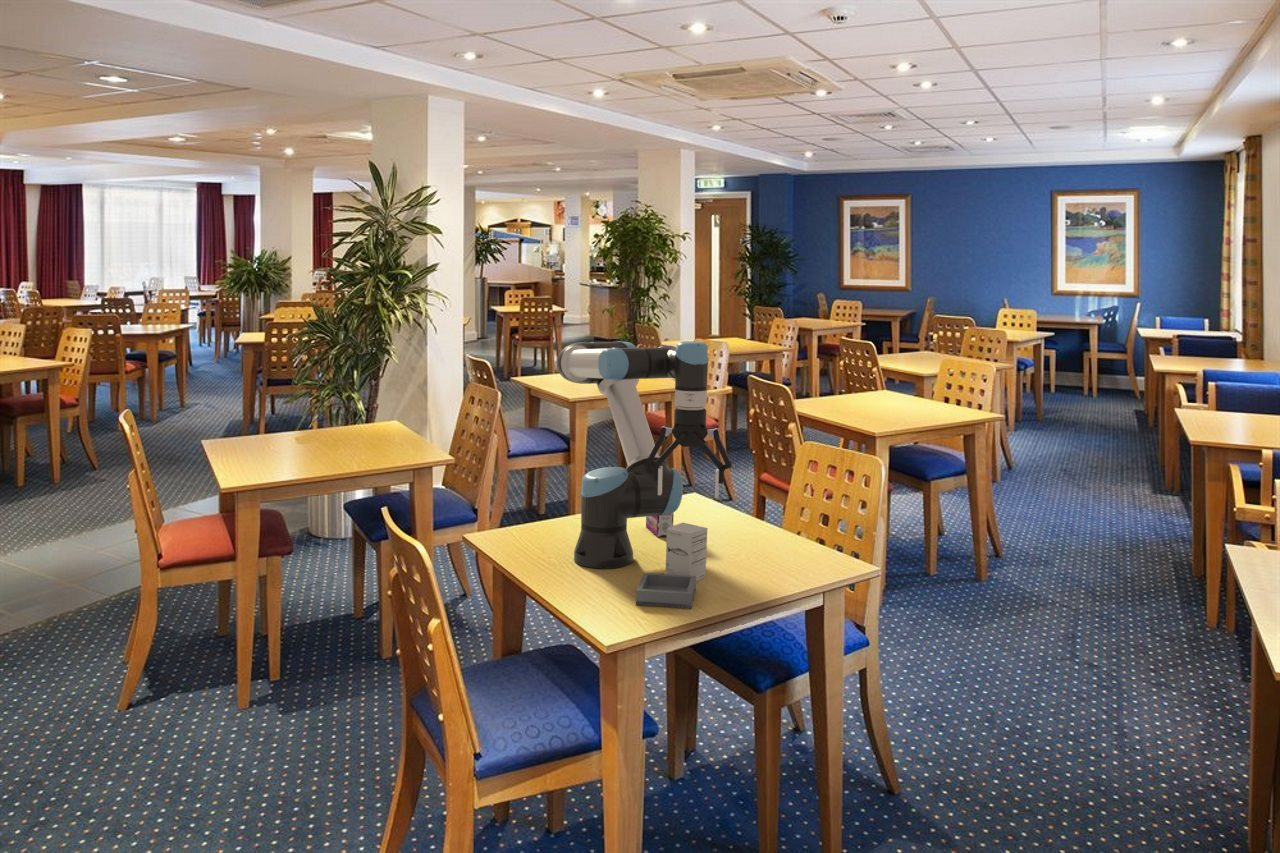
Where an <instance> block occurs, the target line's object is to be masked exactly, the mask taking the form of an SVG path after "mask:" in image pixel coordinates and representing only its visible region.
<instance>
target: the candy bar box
mask: <svg viewBox="0 0 1280 853" xmlns="http://www.w3.org/2000/svg"><path fill="white" fill-rule="evenodd" d="M674 513H675V512H673V513H671V514H664V515H662V516H659V515H657V516H646V517H645V527H646V529H648V530H649V532H651V533H652V534H654V536H655V537H657V538H664V537H666V538H667V528H669V527H672V526H674V517H675V516H674Z"/></svg>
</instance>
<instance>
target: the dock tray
mask: <svg viewBox="0 0 1280 853" xmlns="http://www.w3.org/2000/svg"><path fill="white" fill-rule="evenodd" d="M696 591H697V581H696V576H688V575H672V574H665V573H656V572H655V573H654V572H653V573H652V572H651V573H650V572H643V573H642V575H641V578H640V580H639V583H638V585H637V587H636V589H635V606H639V607H653V608H654V607H656V608H668V609H669V608H670V609H683V610H684V609H687V610H692V608H693V603H694V601H695V595H696Z"/></svg>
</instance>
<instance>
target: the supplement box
mask: <svg viewBox="0 0 1280 853" xmlns="http://www.w3.org/2000/svg"><path fill="white" fill-rule="evenodd" d="M707 542H708V527H704V526H699V525H696V524H695V525H694V524H691V523H687V522H681V523H678V524H673V526H672V527H669V528H667V537H666V543H665V544H666V548H665V549H666V550H665V572H664V574H672V575H688V576H696V582H697V581H699V580H701V579H704V578H706V572H707V570H706V569H707Z"/></svg>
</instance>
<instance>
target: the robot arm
mask: <svg viewBox="0 0 1280 853" xmlns="http://www.w3.org/2000/svg"><path fill="white" fill-rule="evenodd" d="M708 348H709V347H708V344H707V343H706V342H703V341H696V340H695V341H694V340H693V341H692V340H690V341H688V340H686V341H683V340H682V341H678V342H677V343H676V346H673V345H661V346H659V347H658V346H654V347H653V346H651V347H636V345H634V343H632V342H629V341H621V340H613V341H581V342H575V343H571V344H569V345H566V346H565V347H564V348H562V349H561V350H560V352H559V354H558V355H557V359H556V368H557V371H558V374H560V376H561V377H562V378H563V379H564V380H567V381H568V382H571V383H574V384H581V385H582V384H583V385H584V384H585V385H588V384H593V385H595V384H596V386H597V388H598V391H599V393H600V395H603V396H605V397H606V398H607V402H608V406H609V409H610V412H611V415H612V418H613V422H614V425H615V428H616V432H617V434H618V438H619V441H620V444H621V447H622V448H621V449H622V452H623V455H624V457H625V461H626V464H627V466H626V468H624V467H620V466H613V467H611V466H606V467H600V468H596V469H593V470H590V471H587V473H585V474H584V475H583V477H582V479H581V489H580V500H581V501H580V508H581V509H580V514H581V515H580V517H581V518H580V520H581V521H580V533H579V536H578V538H577V541H576V544H575V548H574V550H573V561H574V562H575V563H576V564H577V565H580V566H581V567H582V566H583V567H587V568H590V569H591V568H592V569H616V568H621V567H625V566H628V565H630V564H632V563H633V561H634V550H633V547H632V543H631V540H630V538H629V533H628V530H627V529H628V528H627V526H628V525H627V524H628V519H636V518H644V517H645V518H646V516H657V515H659V516H662V515H664V514H671V513H673V512H674V513H675V512H676V511H678V509H679V508H680V505H681V502H682V499H683V491H684V487H683V486H684V484H683V479H682V475H681V473H680V471H679V470H678V469H676V468H673V467H672V468H670V467H669V465H668V461H667V460H666V459H667V458H668V457H669V456H670V455H671V453H673V451H674V450H675V449H677V447H678V446H681V447H683V448H686V447H691V448H696V447H700V448H701V449H702V450H703V452H704V453H705V454H706V456H708V458H709V459H710V460H711V461H712V462H713V464H714V465H715V467H716V469H715V479H714V480H715V481H714V499H718V498H719V494H720V493H719V490H720V484H721V485H723V483H724V481H725V470H728V469H731V468H732V467H733V463H732V460H731V459H730V455H728V452H727V450H726V448H725V445H724V443H723V442H722V439H721V437H720V429H719V428H718V427H715V428H709V429H708V428H707V410H706V408H705V407H707V404H708V403H707V402H708V400H707V399H708V375H709V374H708V373H709V372H708V371H709V351H708V350H709V349H708ZM644 379H645V380H646V379H648V380H649V379H650V380H651V379H653V380H655V379H674V383H675V384H674V405H675V406H676V407H675V408H674V414H673V415H674V416H673V427H667V426H666V425H663V426H661V428H660V430H659V431H660V432H659V437H658V439H657V441H656V443H655V441H654V438H653V434H652V431H651V429H650V426H649V423H648V420H647V417H646V413H645V410H644V407H643V404H642V401H641V398H640V395H639V392H638V389H637V386H638V384H639V382H640V380H644ZM670 434H672V436H673V437H674V438H675V440H673V442H672V443H671V444H670V445H669V447H667V449H665V451H664V452H662V454H661V455H659V450H660V448H661V446H662V444H663V442H664V440H665V439H666V437H668V436H669V435H670ZM708 435H709V436H710V438H711V439H713V440H714V443H715V445H716V447H717V450H718V452H719V453H720V455H721V458H722V460H723V462H722V461H721V459H720V458H719V457H718V456H717V455H716V453H715V452H714V451H713V449H712V448H711V447H710V445H708V443H707V441H706V440H705V438H707V436H708Z"/></svg>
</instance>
